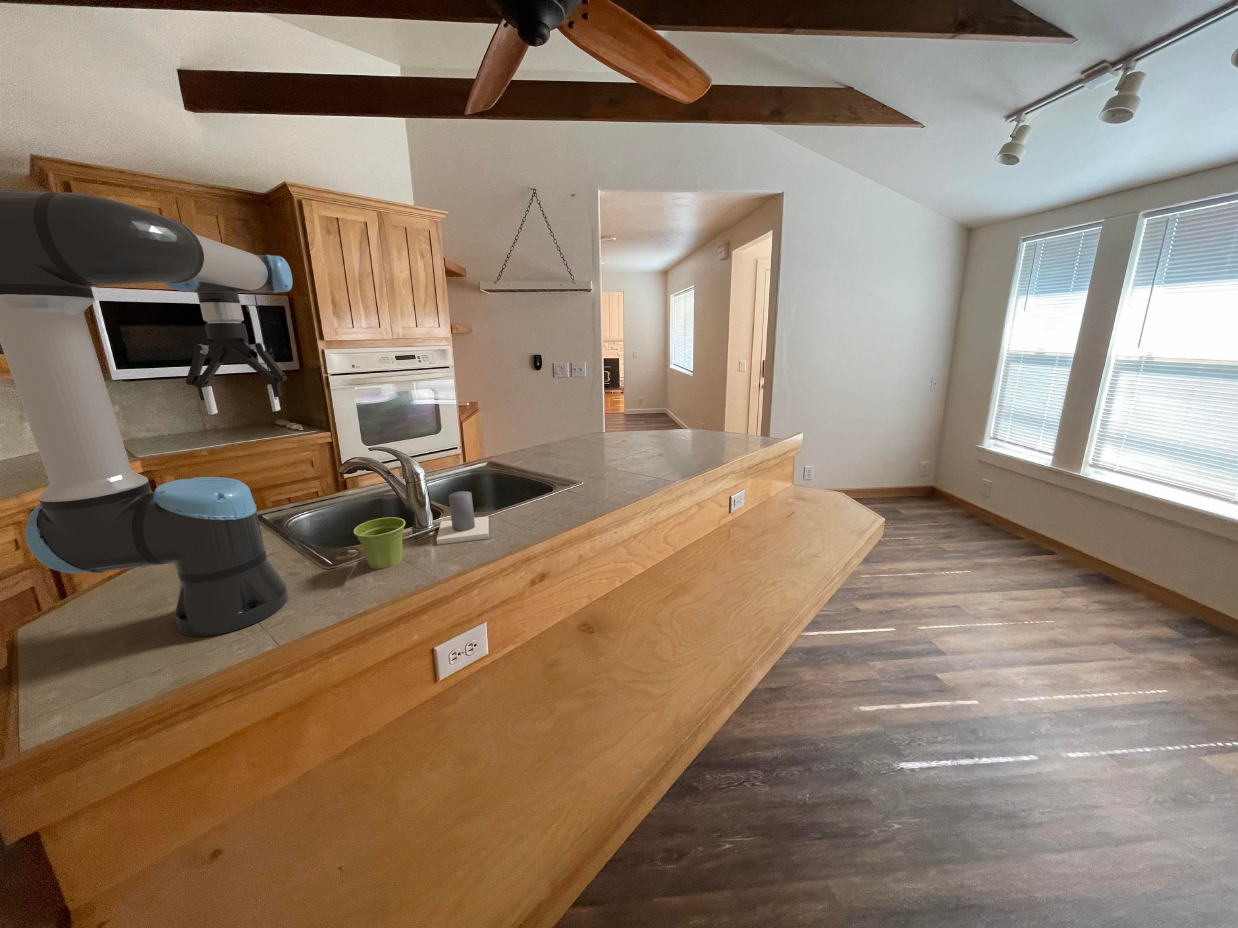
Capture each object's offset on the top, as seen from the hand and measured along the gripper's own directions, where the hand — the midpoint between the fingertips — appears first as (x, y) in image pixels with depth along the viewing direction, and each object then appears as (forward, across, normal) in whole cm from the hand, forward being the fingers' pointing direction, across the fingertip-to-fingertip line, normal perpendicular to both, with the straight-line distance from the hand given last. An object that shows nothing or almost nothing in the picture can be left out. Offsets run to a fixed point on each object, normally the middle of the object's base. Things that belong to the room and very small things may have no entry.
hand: (245, 412), depth 119 cm
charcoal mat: (+28, -50, +27) cm, 64 cm away
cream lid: (+27, -50, +27) cm, 63 cm away
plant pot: (+28, -35, +38) cm, 59 cm away
